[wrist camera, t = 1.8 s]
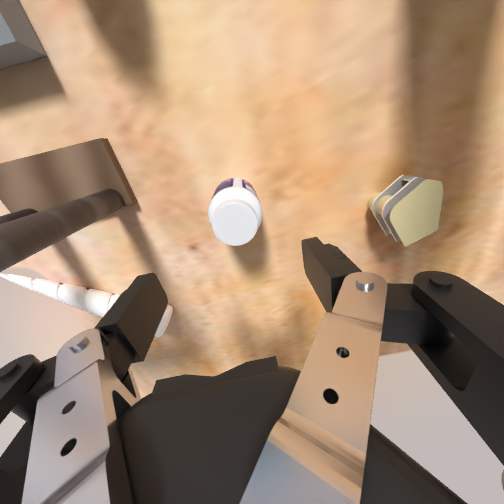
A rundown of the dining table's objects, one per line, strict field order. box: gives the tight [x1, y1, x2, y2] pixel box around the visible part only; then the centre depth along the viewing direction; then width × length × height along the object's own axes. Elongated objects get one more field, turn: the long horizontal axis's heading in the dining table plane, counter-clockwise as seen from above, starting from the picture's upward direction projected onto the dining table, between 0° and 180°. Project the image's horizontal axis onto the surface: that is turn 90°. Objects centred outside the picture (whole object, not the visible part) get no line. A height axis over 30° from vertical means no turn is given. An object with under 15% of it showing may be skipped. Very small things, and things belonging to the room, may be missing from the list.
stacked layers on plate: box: [368, 175, 444, 247], centre depth 26 cm, size 10×9×6 cm
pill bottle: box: [208, 178, 262, 246], centre depth 22 cm, size 5×5×10 cm
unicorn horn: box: [0, 274, 173, 337], centre depth 29 cm, size 5×24×5 cm, turn 65°
